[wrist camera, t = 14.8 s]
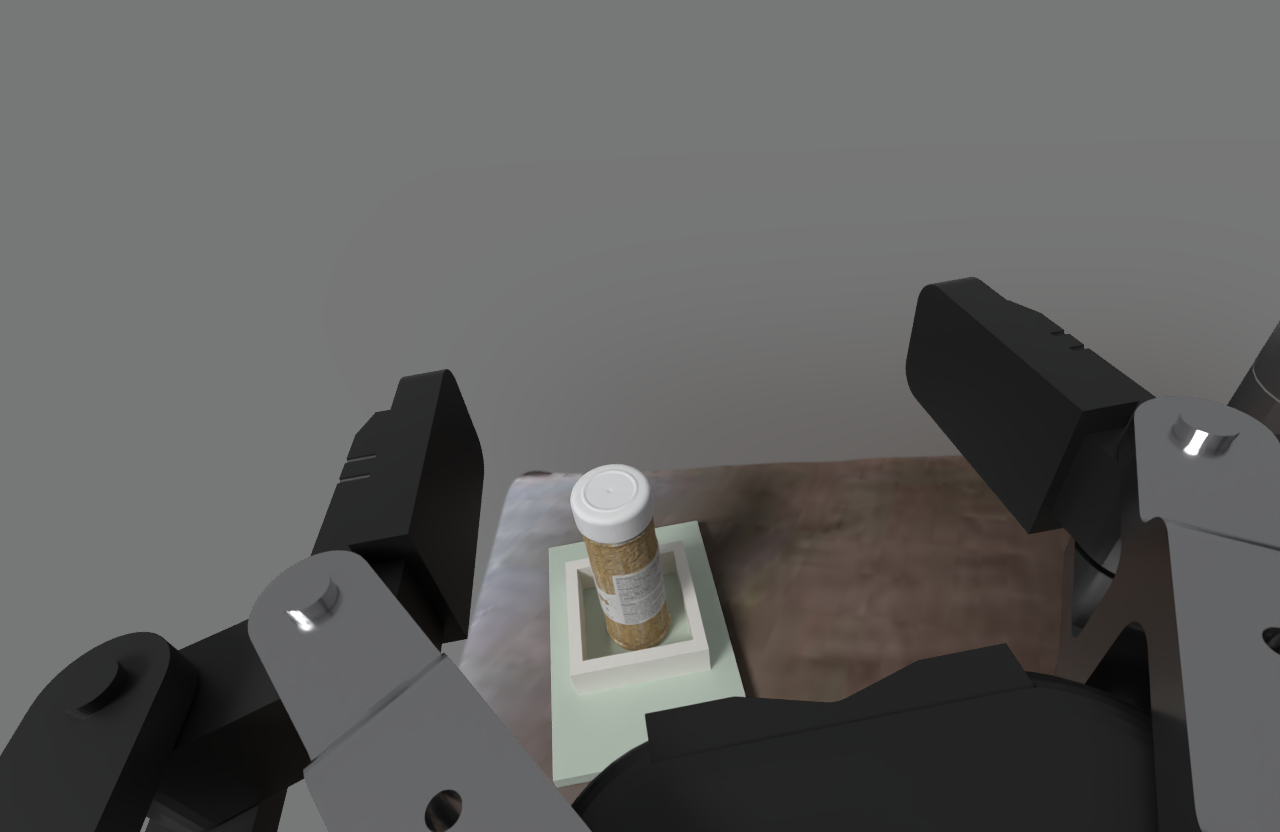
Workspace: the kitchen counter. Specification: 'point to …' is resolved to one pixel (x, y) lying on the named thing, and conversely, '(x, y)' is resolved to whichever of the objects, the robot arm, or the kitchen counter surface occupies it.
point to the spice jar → (623, 553)
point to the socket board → (631, 656)
